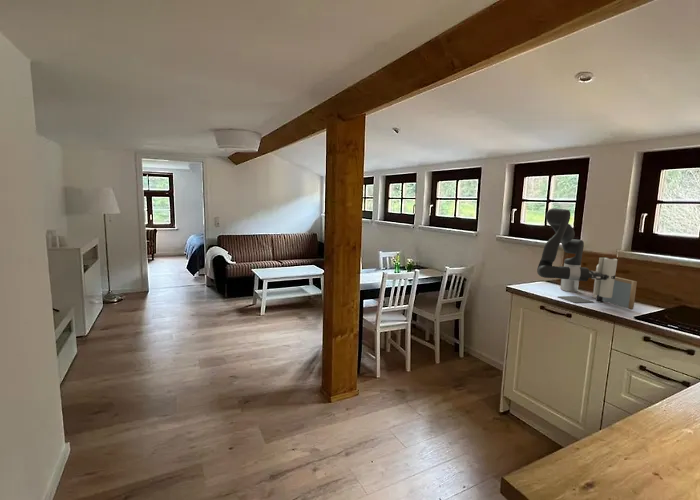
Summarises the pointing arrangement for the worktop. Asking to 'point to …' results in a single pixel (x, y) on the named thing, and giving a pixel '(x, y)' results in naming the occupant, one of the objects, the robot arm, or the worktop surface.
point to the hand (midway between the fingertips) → (613, 276)
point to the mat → (575, 299)
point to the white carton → (606, 286)
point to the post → (599, 298)
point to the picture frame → (623, 293)
